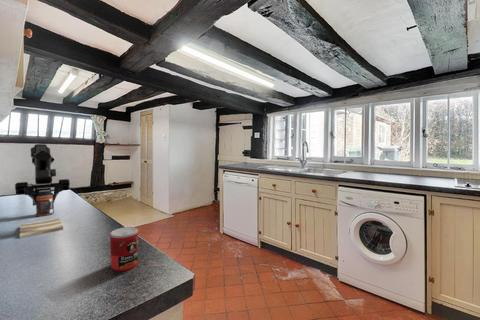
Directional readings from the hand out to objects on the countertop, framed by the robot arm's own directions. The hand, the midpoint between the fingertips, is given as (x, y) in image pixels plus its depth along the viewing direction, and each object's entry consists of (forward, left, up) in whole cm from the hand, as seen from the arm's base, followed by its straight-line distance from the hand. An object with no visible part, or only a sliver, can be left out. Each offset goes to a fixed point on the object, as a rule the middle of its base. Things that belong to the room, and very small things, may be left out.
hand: (44, 201), depth 99 cm
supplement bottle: (-1, 0, -7) cm, 7 cm away
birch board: (-4, -1, -13) cm, 14 cm away
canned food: (+58, +16, -13) cm, 61 cm away
